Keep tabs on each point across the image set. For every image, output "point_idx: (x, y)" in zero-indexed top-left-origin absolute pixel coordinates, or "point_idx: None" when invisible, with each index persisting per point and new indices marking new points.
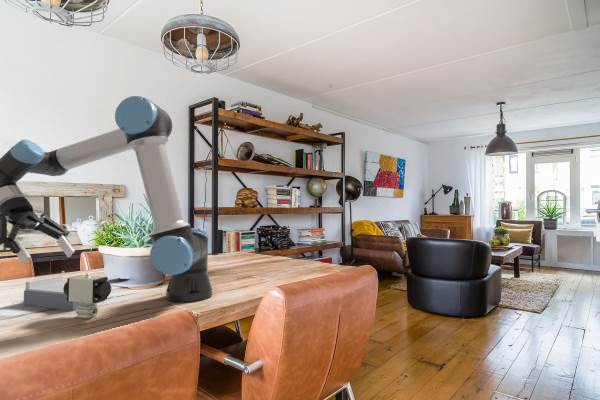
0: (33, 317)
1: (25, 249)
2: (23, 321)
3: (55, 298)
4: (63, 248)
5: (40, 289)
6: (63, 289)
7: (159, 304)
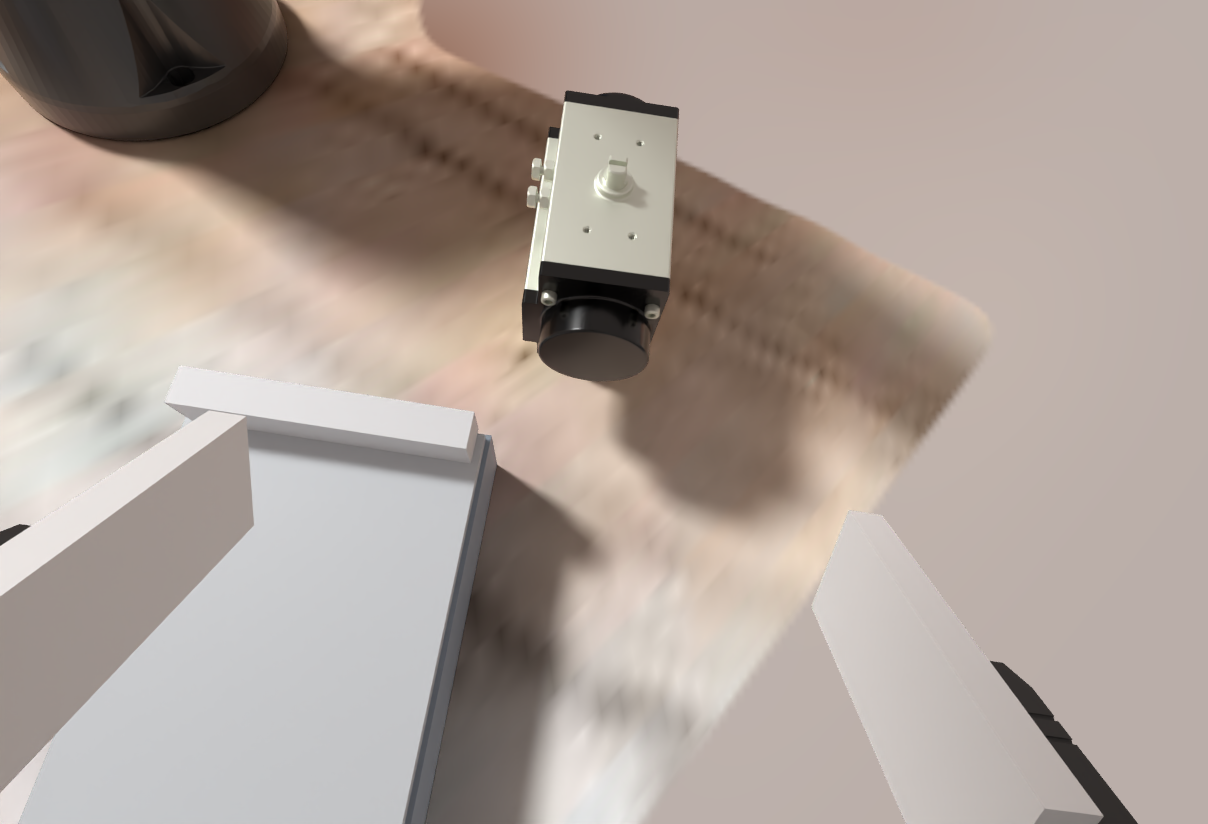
0: (645, 590)
1: (910, 597)
2: (715, 583)
3: (461, 600)
4: (155, 596)
5: (384, 809)
6: (647, 363)
7: (333, 122)
